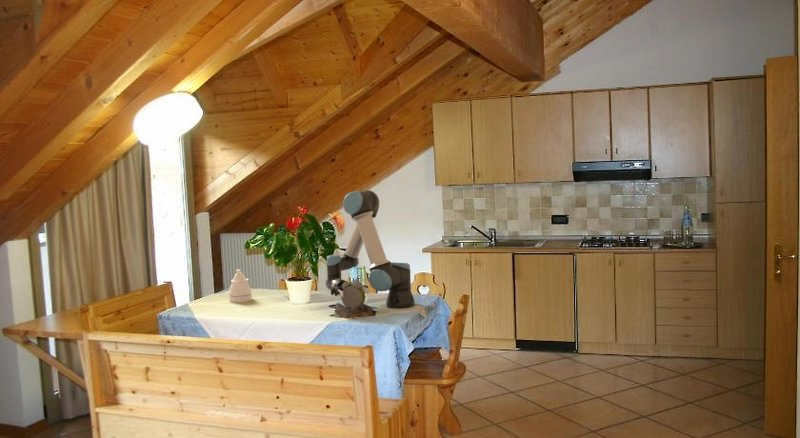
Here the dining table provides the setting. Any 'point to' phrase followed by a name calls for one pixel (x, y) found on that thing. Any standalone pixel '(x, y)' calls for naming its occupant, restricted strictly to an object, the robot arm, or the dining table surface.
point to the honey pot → (240, 288)
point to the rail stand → (356, 312)
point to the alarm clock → (353, 295)
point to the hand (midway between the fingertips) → (355, 292)
